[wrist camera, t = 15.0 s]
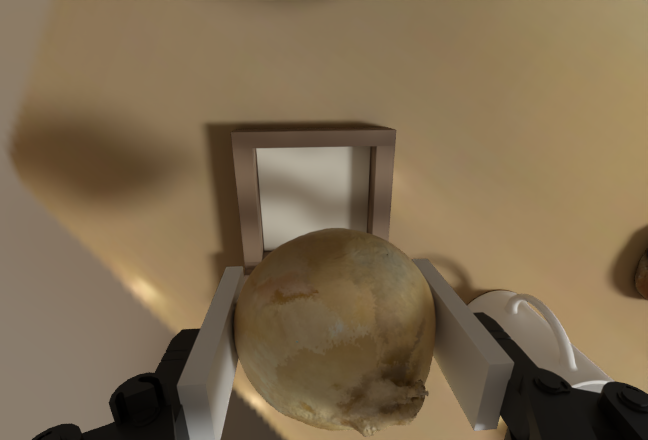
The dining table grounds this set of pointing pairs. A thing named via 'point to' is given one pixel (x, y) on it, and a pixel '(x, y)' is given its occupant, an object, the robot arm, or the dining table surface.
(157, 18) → the dining table surface
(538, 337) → the mug
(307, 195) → the brown sliding lid box
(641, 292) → the bread roll
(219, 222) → the dining table surface
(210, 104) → the dining table surface
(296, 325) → the onion
